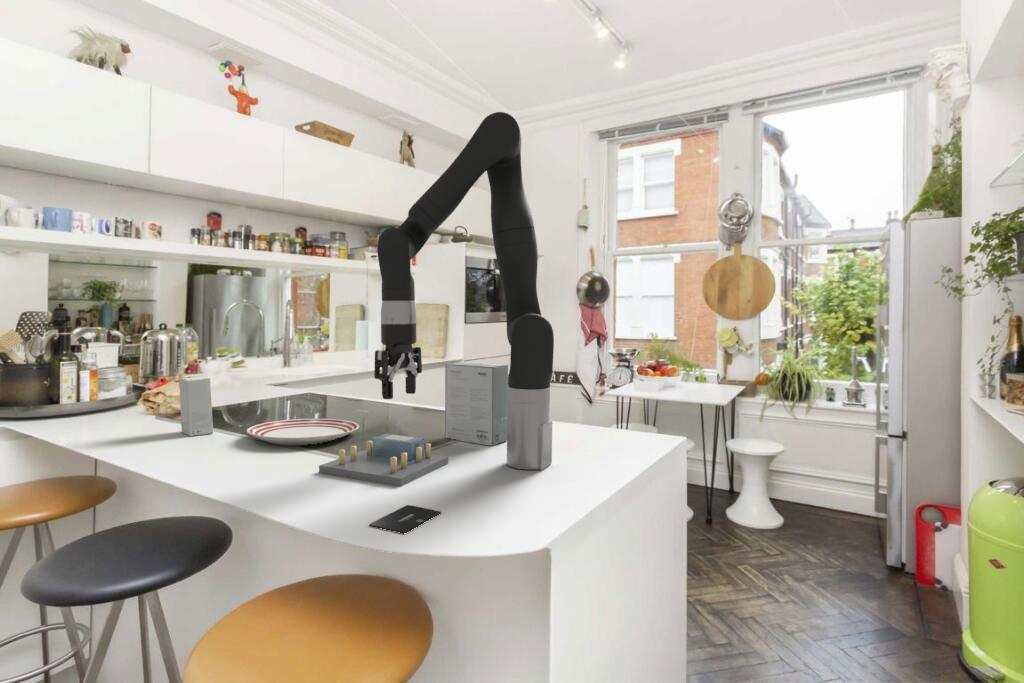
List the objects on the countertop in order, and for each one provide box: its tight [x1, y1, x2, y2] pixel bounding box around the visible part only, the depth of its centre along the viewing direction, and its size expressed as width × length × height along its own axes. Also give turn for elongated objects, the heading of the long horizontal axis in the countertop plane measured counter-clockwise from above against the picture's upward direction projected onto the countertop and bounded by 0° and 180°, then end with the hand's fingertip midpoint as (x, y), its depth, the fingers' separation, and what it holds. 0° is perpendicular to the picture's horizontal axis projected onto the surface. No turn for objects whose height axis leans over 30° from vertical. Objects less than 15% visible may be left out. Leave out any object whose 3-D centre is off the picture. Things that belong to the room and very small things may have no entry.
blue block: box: [372, 433, 425, 461], centre depth 122 cm, size 10×5×4 cm, turn 67°
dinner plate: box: [246, 418, 360, 446], centre depth 145 cm, size 27×27×3 cm
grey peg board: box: [318, 440, 449, 487], centre depth 118 cm, size 20×18×4 cm
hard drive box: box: [444, 362, 509, 446], centre depth 145 cm, size 16×8×20 cm, turn 58°
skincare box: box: [178, 376, 214, 437], centre depth 148 cm, size 8×6×15 cm
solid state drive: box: [369, 504, 442, 535], centre depth 89 cm, size 7×10×1 cm
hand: (399, 396), depth 121 cm, fingers open, 8 cm apart
